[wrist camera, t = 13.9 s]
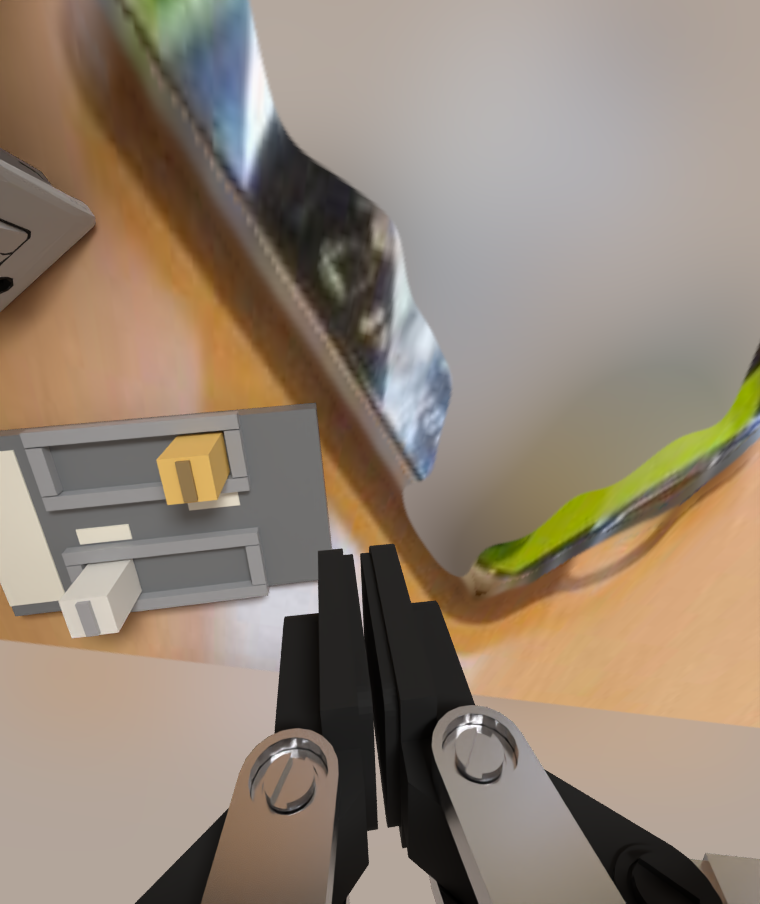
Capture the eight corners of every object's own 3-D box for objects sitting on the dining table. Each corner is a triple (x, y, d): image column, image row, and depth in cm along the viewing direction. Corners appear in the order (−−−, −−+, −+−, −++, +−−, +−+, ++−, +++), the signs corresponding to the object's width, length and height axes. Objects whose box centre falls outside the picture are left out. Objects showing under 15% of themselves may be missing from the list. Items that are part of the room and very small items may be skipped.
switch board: (-43, 430, 32) (-69, 441, 30) (315, 398, 34) (314, 407, 32) (28, 606, 37) (10, 626, 35) (334, 570, 39) (335, 587, 37)
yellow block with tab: (177, 435, 32) (154, 461, 28) (222, 431, 33) (207, 456, 28) (186, 475, 33) (165, 507, 29) (230, 471, 34) (216, 502, 29)
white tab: (89, 561, 35) (55, 604, 30) (132, 557, 35) (104, 598, 31) (100, 595, 36) (69, 641, 32) (142, 590, 36) (116, 635, 32)
